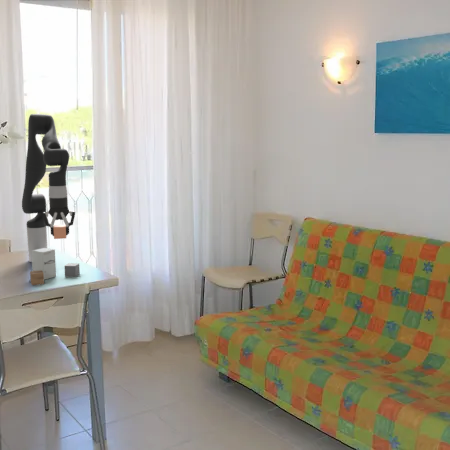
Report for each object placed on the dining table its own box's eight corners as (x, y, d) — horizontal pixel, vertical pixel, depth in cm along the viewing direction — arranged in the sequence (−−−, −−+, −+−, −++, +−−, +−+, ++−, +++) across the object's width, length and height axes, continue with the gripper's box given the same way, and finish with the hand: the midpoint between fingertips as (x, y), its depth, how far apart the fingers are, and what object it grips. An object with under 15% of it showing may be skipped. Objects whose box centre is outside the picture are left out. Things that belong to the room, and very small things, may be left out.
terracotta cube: (54, 236, 263) (54, 225, 262) (66, 236, 264) (65, 224, 263) (54, 238, 258) (53, 227, 258) (66, 238, 260) (65, 226, 259)
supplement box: (43, 280, 266) (42, 252, 263) (32, 278, 269) (30, 250, 267) (56, 276, 272) (55, 249, 270) (45, 274, 276) (43, 247, 273)
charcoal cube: (69, 273, 277) (68, 263, 276) (79, 274, 276) (79, 263, 276) (64, 276, 272) (64, 265, 271) (75, 276, 271) (75, 266, 271)
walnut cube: (30, 282, 262) (29, 271, 261) (42, 281, 264) (42, 270, 263) (31, 285, 258) (31, 274, 257) (44, 284, 260) (43, 272, 259)
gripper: (75, 194, 263) (77, 233, 266) (41, 195, 260) (43, 234, 263) (75, 196, 256) (77, 236, 259) (40, 197, 253) (42, 237, 256)
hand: (60, 235), depth 261 cm, fingers closed on terracotta cube, 5 cm apart
